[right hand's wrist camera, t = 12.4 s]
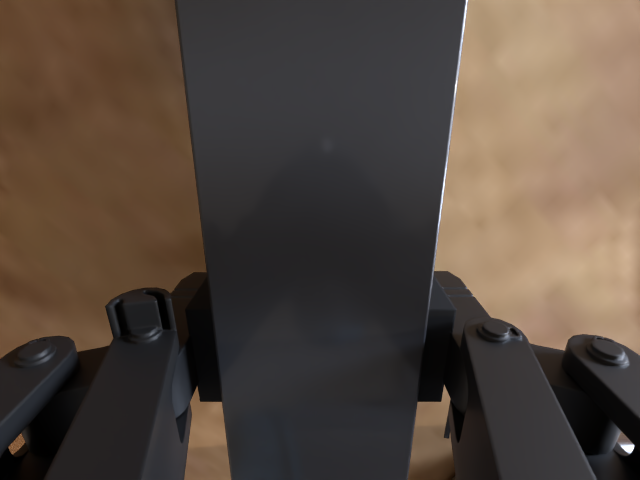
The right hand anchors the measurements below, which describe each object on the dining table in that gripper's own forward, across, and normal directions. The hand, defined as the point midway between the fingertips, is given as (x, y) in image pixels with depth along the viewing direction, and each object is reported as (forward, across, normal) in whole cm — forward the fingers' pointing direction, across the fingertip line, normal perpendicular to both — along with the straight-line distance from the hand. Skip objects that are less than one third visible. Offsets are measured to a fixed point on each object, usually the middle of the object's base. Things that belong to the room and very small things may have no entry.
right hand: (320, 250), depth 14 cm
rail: (-1, 0, -13) cm, 13 cm away
